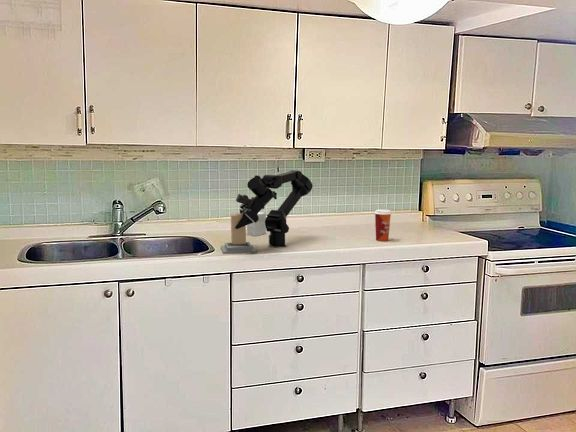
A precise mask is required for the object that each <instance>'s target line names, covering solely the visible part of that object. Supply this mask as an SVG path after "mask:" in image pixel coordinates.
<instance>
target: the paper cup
mask: <svg viewBox="0 0 576 432" xmlns="http://www.w3.org/2000/svg"><path fill="white" fill-rule="evenodd" d="M391 215H392V210H390V209H382V208H381V209H375V212H374V217H375V219H374V220H375V221H374V222H375V241H377V242H388V241H389V235H390V225H391V224H390V223H391Z"/></svg>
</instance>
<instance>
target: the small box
mask: <svg viewBox="0 0 576 432" xmlns="http://www.w3.org/2000/svg"><path fill="white" fill-rule="evenodd" d="M257 216H258V217H259V220H258V221H257V222H256V223H255V222H254V221H253V223H251V224H248V225H246V236H251V237H258V236H262V235H266V234H267V230H266V226H265V219H266V217H267V213H266V212H262V211H260V212H259V213H258V215H257Z"/></svg>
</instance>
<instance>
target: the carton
mask: <svg viewBox="0 0 576 432" xmlns="http://www.w3.org/2000/svg"><path fill="white" fill-rule="evenodd" d="M241 218H242V213H240V212H239V213H230V233H231V235H230V236H231V237H230V238H231V239H230V241H231V242H230V243H232V244H246V242H247V225H246V226H243V227H241V228H239V229H236V228H235V227H236V225H237V224H238V222H239V221H240V219H241Z"/></svg>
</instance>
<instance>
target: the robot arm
mask: <svg viewBox="0 0 576 432" xmlns="http://www.w3.org/2000/svg"><path fill="white" fill-rule="evenodd" d="M286 183H290V185H291V188H292V189H291V192H290V193H289V195H287V197H286V198H285V199H284V201H283V202H282V203H281V205H280V206H279V207H278V209H271V210H269V213H268V214H266V219H265V226H266V233H267V232H269V235H268V245H269V246H270V247H271V248H280V247H281V248H282V247H287V245H286V234H287V233H289V229H290V226H289V225H288V224H287V217H288V216H289V214H290V212H291V211H292V210H293V209H294V207H295V206H296V205H297V204H298V202H299V201H300V199H301V198H302V197H305V196H307V195H308V194H309V193H310V192H311V191H312V190H313V182H312V181H311V180H310V178H309V177H307V176H306V175H305V174H303V173H302V171H301V170H294V169H293V170H289V171H287V172H282V173H280V174H264V175H263V176H262V178H261V176H260V175H254V177H252V178H250V180H249V181H248V182H247V188H248V189H249V190H250V191H251V193H253V194H254V195H255V196H252V197H251V198H249V195H246V194H240V193H238V194H237V197H236V198H235V202H237V203H239V204H240V205H239V213H242V218H241V219H240V221H239V222H238V224H237V225H236V227H235V228H236V229H239V228H241V227H243V226H246V227H247V225H248V224H251V223H253V221H254V222H255V223H256V222H257V221H258V220H259V217H258V216H257V215H258V213H259V212H261V210H264V209H265V208H266V206H267V204H268V203H269V202H270V201H272V199H274V200H277V199H278V198H277V195H278V194H277V192H276V191H275V190H278V189H279V188H281V187H282V186H283V185H284V184H286ZM272 189H273V190H274V191H273V190H272Z"/></svg>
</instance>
